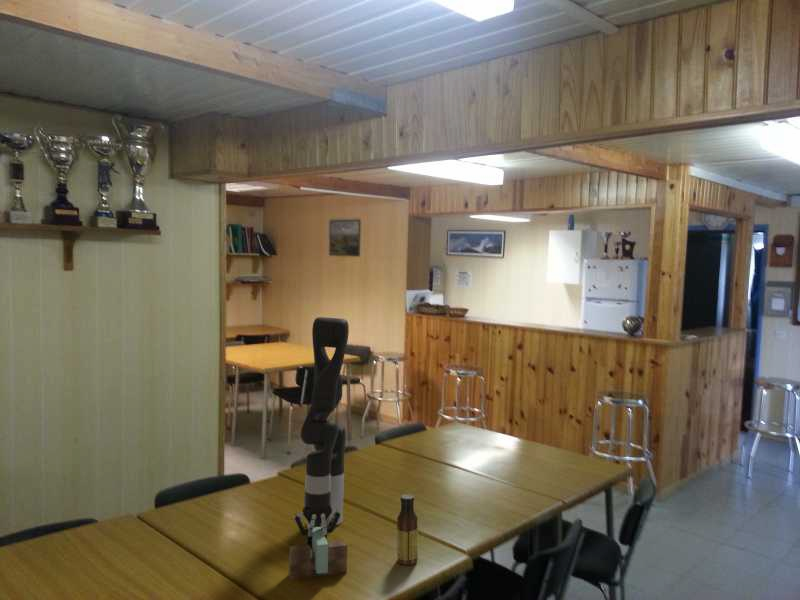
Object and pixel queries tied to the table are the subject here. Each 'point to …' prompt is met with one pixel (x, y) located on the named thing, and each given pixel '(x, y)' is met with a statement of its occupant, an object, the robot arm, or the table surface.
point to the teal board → (319, 550)
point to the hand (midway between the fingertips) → (316, 546)
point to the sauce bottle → (407, 532)
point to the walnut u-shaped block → (305, 565)
